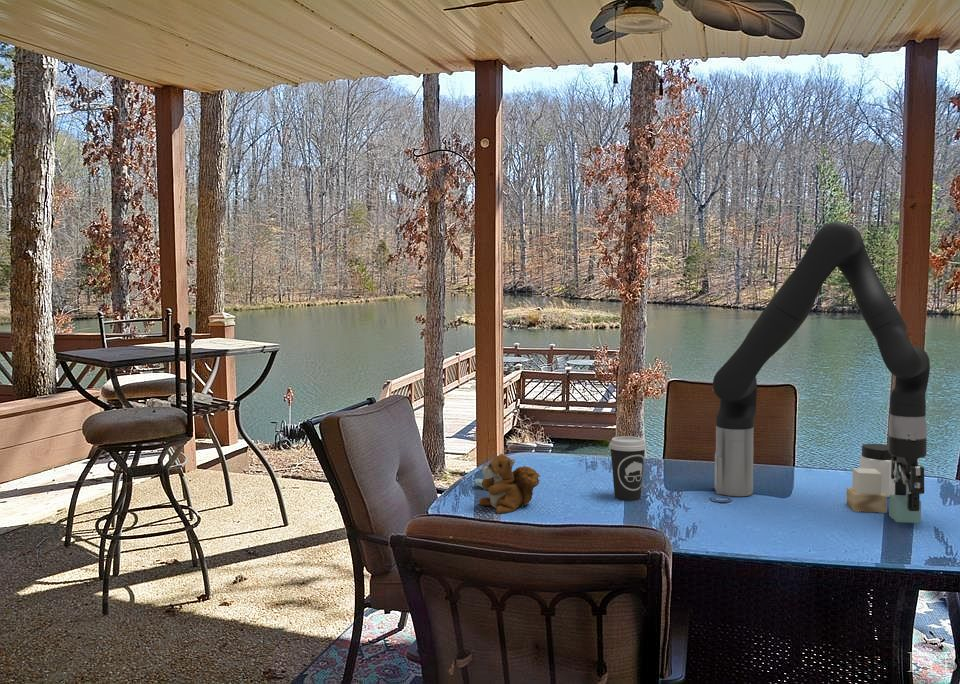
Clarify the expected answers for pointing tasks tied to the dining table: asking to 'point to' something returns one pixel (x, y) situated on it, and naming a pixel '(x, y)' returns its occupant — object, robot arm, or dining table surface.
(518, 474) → the stuffed squirrel
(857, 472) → the cream cube
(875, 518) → the dining table surface
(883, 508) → the base block
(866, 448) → the jar
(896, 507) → the teal cube
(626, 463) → the coffee cup
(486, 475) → the pacifier
